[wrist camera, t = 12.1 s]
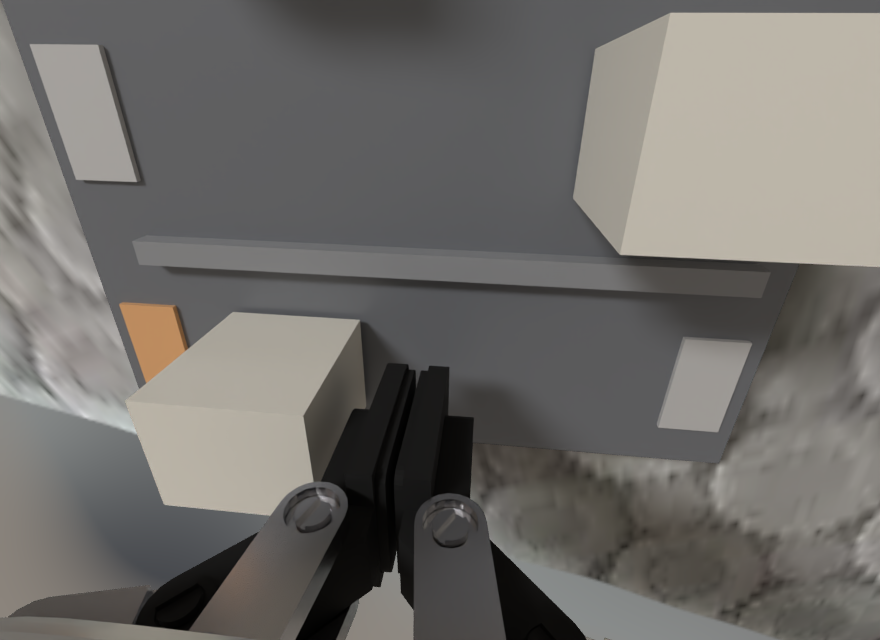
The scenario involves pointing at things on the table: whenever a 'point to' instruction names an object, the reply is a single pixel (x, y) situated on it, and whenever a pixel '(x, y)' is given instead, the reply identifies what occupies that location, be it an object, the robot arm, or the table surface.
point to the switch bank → (396, 203)
